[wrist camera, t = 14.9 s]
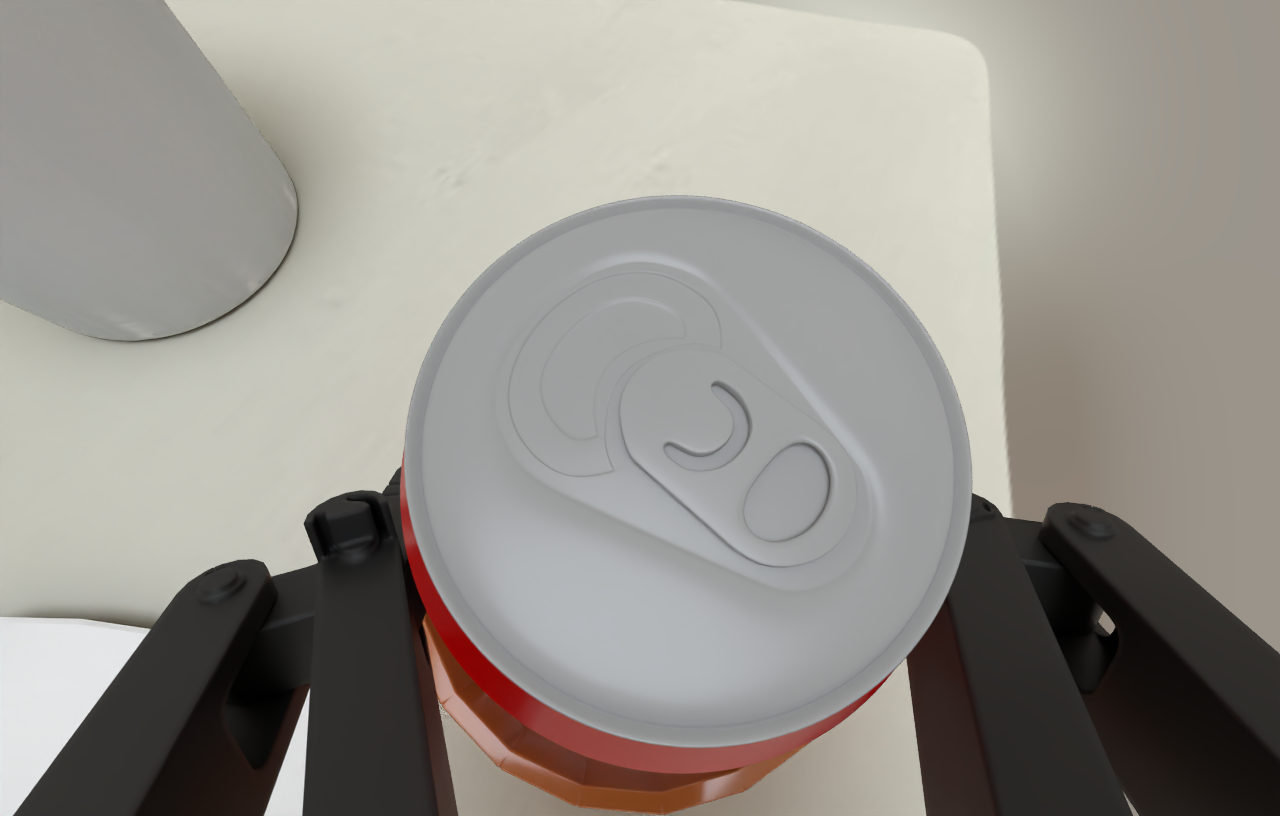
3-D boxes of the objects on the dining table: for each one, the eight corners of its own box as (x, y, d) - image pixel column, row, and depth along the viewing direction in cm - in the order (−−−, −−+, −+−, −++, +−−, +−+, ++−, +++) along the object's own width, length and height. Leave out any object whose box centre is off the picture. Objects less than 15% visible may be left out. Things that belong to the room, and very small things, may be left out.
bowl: (378, 563, 23) (300, 555, 18) (623, 320, 28) (623, 251, 22) (657, 853, 20) (672, 957, 14) (883, 529, 24) (962, 511, 19)
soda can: (656, 703, 18) (778, 1091, 4) (495, 552, 20) (176, 458, 6) (784, 527, 20) (1152, 386, 6) (629, 403, 22) (646, 61, 8)
